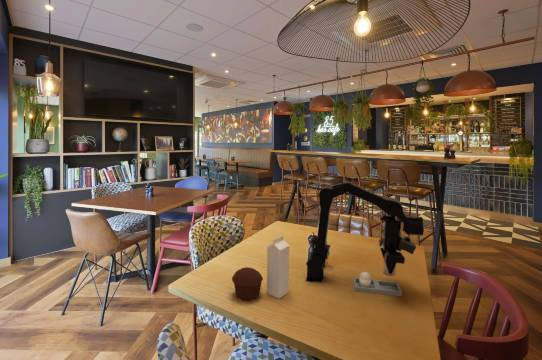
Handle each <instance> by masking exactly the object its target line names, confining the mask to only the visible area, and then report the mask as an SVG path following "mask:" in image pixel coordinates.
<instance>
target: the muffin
mask: <svg viewBox="0 0 542 360" xmlns="http://www.w3.org/2000/svg"><path fill="white" fill-rule="evenodd" d="M263 280H264V278H263V276H262V274H261V273H260V272H259V271H258V270H257V269H255V268H254V267H249V266H248V267H247V266H246V267H242V268H239V269H238V270H236V271H235V273H234V274H233V275H232V277H231V281H232V283H233V284H234V289H235V296H236V298H237V299H238V300H240V301H242V302H244V301H246V302H251V301H253V300H257V298H258V297H259V296H260V292H261V287H262V281H263Z"/></svg>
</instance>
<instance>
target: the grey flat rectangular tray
mask: <svg viewBox="0 0 542 360" xmlns="http://www.w3.org/2000/svg"><path fill="white" fill-rule="evenodd" d="M352 281H353V291H354V292H361V293H369V294H378V295H379V294H380V295H388V296H395V297H403V290H402V289H401V286H400V284H399V282H398V281H390V280H380V279H372V278H371V288H368V287H359V277H353V280H352Z"/></svg>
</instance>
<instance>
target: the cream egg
mask: <svg viewBox="0 0 542 360" xmlns="http://www.w3.org/2000/svg"><path fill="white" fill-rule="evenodd" d="M358 278H359V287H368V288H371V279H372V276H371V273H369V272H367V271H363V272H361V273H360V274H359V277H358Z"/></svg>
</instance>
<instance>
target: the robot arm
mask: <svg viewBox="0 0 542 360" xmlns="http://www.w3.org/2000/svg"><path fill="white" fill-rule="evenodd" d="M347 193H348V194H351V195H352V196H354V197H357V198H359V199H361V200H363V201H365V202H368V203H370V204H372V205H374V206H376V207H378V208H379V210H381V211H383V212H384V213H383V214H382V215H380V216H379V220H380V221H383V222H384V226H383V227H384V229H383V232H382V236H383V237H380V239H378V246H379V247H380V248H379V249H380V252H381V255H382V258H383V262H384V261H385V263H386V266H387V269H388V272H389V274H392V273H393V270H394V268H395V265H396V266H397V264H400V265H401V264H405V262H406V258H405V256H404V255H403V253H402V251H404V252H407V253H408V254H411V255H414V252H415V251H416V249H417V245H416V244H415V243H414V242H412V241H411V238H410V237H409V236H407V235H413V236H421V237H422V236H423V235H424V231H425V228H424V218H423V217H422V216H411V215H408V216H407V213H406V212H405V211H404V209H403V205H402V202H401V201H400V200H399V199H396V198H393V197H390V196H385V195H380V194H378V193H375V192H373V191H370V190H368V189H367V188H365V187H362V186H359V185H357V184H355V183H353V182H351V181H348V180H346V181H344V182H342V183H338V184H335V185H332V186H331V185H325V186H323V187H322V188H321V190H320V191H319V192H318V201H319V209H320V211H319V217H318V219H319V220H318V228H317V237H316V243H315V245H314V248H313V252H312V253H311V254H310V255H309V257H308V259H307V260H306V263H305V264H306V278H305V281H307V282H315V283H316V282H317V283H319V282H320V283H322V282H323V280H324V273H325V268H324V267H323V264H325V263H326V261H327V260H329V256H330V249H331V244H328V241H327V240H328V239H327V238H328V233H329V231H328V230H329V223H330V216H331V209H332V207H333V206H332V205H333V202H334V199H335V198H337V197H339V196H342V195H344V194H347ZM401 230H402V231H403V232H404V233H405V234H406V235H405V236H404V237H402V236H401Z"/></svg>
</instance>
